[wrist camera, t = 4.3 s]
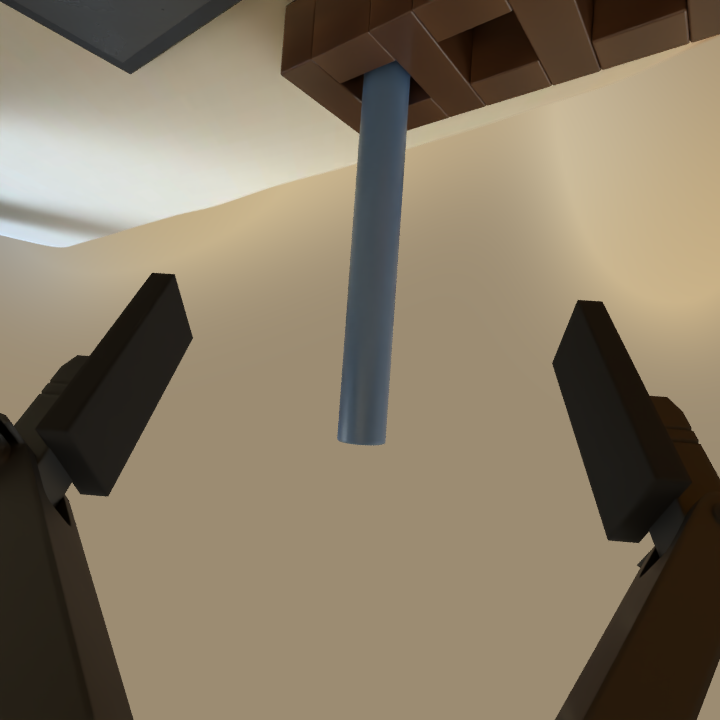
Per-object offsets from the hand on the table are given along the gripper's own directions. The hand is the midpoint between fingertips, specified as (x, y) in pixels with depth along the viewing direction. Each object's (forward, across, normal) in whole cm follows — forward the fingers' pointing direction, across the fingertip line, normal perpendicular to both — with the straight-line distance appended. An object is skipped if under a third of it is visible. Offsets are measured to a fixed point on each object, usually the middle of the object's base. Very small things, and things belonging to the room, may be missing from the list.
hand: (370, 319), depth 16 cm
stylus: (+12, 0, +7) cm, 14 cm away
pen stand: (+10, +4, +8) cm, 14 cm away
